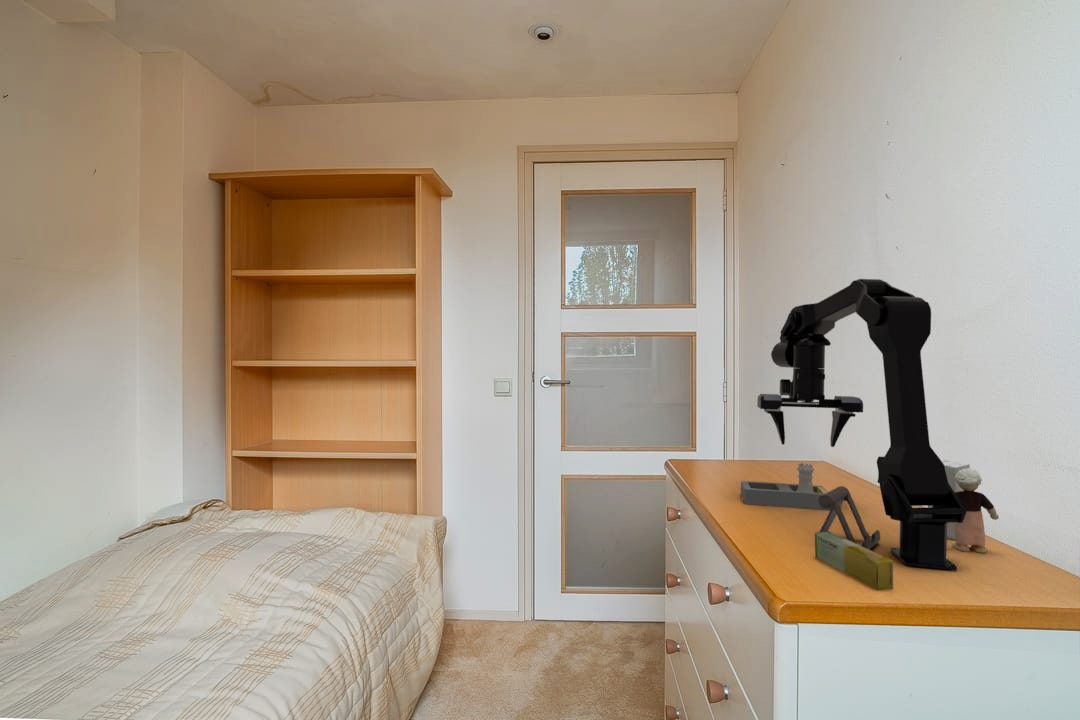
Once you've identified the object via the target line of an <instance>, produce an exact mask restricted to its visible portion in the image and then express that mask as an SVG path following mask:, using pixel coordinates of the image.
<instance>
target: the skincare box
mask: <svg viewBox="0 0 1080 720" xmlns="http://www.w3.org/2000/svg"><path fill="white" fill-rule="evenodd" d="M941 461H942V462H943V464H944V466H945V471H946V475H947V479H948V483H949V485H950V486H951V488H952V489H953V491H954V492H959V491H964V490H963V489H961V488H960V486H959V484H958V483H957V482H956V479H955V475H956V474H957V472H959V470H962V469H965V468H969V469H971V467H970V466H971V465H970V463H964V462H958V461H950V460H941ZM927 508H933V506H927ZM947 540H953V541H954V540H955V541H956V539H955V522H947Z"/></svg>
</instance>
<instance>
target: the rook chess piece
mask: <svg viewBox="0 0 1080 720" xmlns="http://www.w3.org/2000/svg"><path fill="white" fill-rule="evenodd" d="M796 470H797V471H798V475H797V478H798V483H797V484H798V488H797V490H796V491H798V492H813V493H815V492H814V491H813V486H812V485H813V479H814V476H813V473H814V472H815V468H814V467H813V464H811V463H805V465H804V463H798V466H797V467H796Z"/></svg>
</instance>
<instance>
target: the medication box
mask: <svg viewBox="0 0 1080 720" xmlns="http://www.w3.org/2000/svg"><path fill="white" fill-rule="evenodd" d="M814 549H815V550H814V552H815V554H814V555H815V558H816V559H818V560H820V561H822V562H824V563H826V564H827V565H829V566H831V567H832V568H834V569H835V568H836V569H837V571H838V570H839V571H841V572H843V573H845V574H847V575H848V576H850V577H851V578H854V579H855V580H858V581H860V582H861V583H863V584H865V585H867V586H869V587H871V588H873V589H875V590H877V591H884V590H892V589H894V560H893V559H890V558H888V557H886V556H884V555H881V554H880V553H877V552H875V551H873V550H871V549H870V550H869V549H866V548H864V547H862V546H860V545H859V544H858V543H857V544H855V543H853V542H851V541H849V540H847V538H844V537H842V536H840V535H837V534H835V533H833V532H831V531H829V530H828V531H824V532H820V531H817V532H815V533H814Z"/></svg>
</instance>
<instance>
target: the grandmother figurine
mask: <svg viewBox="0 0 1080 720" xmlns="http://www.w3.org/2000/svg"><path fill="white" fill-rule="evenodd" d="M955 479H956V482H957V483H958V484H959V486H960V488H961V489H963V490H964V491H959V492H955V494H956V495H957V497H958V499H959V500H960V502H961V503H962V505H963V506H964V508H965V509H966V515H965V518H964V520H963V523H957V522H955V542H954V543H953V544H952V548H954V549H956V550H958V551H960V552H966V553H968V552H971V550H972V551H973V552H975V553H981V554H986V553H987V552H988V549H987V547H986V532H985V524H984V523H985V522H984V518H983V512H982V508H983V509H984V510H986V511H987V513H988V514H989V517H990V518H991V519H992V520H995V521H997V520H999V517H1000V516H999V514H998V513H997V510H996V509H995V506H994V505H993V503H992V502H991V501H990V499H988V497H987V496H986V495H985V494H984V493H982V492H979V491H976V490H978V488H979V486H980V485H982V481H983V479H982V477H981V475H980V473H979V472H978V470H976V469H973V468H970V469H969V468H965V469H962V470H959V472H957V474H956V475H955ZM969 546H970V547H969Z"/></svg>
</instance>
